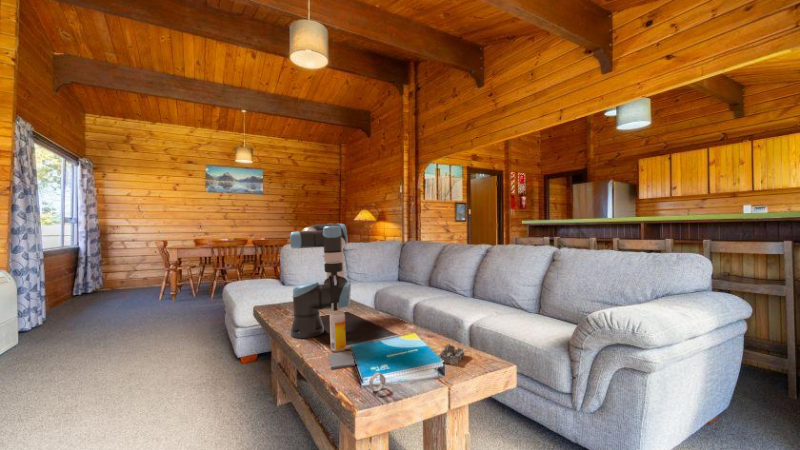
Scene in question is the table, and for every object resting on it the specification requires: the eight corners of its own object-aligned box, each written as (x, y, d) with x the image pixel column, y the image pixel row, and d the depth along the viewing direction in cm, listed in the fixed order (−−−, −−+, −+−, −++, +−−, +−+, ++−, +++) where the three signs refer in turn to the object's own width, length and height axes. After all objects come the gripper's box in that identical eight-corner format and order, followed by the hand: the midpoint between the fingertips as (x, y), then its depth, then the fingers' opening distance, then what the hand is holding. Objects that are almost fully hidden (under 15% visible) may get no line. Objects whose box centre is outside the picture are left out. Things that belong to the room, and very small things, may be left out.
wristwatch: (386, 388, 109) (385, 372, 109) (373, 394, 106) (373, 378, 106) (380, 385, 111) (379, 369, 111) (367, 391, 108) (367, 375, 108)
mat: (328, 355, 138) (328, 353, 138) (351, 352, 140) (351, 350, 140) (331, 369, 125) (331, 367, 125) (356, 365, 128) (356, 363, 128)
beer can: (349, 348, 145) (347, 311, 145) (339, 353, 140) (337, 315, 140) (337, 346, 148) (336, 309, 148) (327, 350, 143) (326, 313, 143)
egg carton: (449, 353, 137) (448, 342, 137) (467, 356, 133) (467, 345, 133) (436, 362, 128) (435, 351, 128) (455, 367, 124) (455, 355, 124)
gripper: (323, 261, 157) (325, 314, 157) (325, 264, 144) (327, 322, 145) (340, 260, 159) (342, 313, 159) (344, 263, 147) (346, 320, 147)
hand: (335, 317), depth 152 cm, fingers closed
